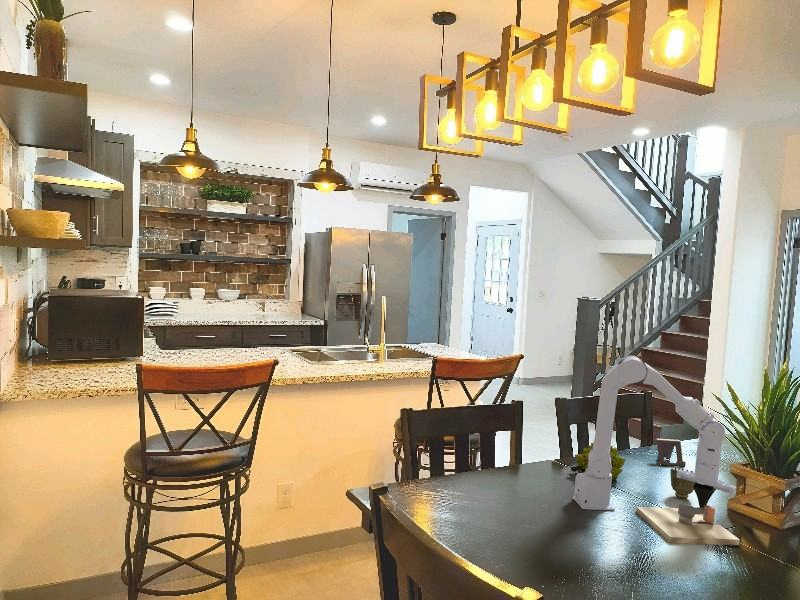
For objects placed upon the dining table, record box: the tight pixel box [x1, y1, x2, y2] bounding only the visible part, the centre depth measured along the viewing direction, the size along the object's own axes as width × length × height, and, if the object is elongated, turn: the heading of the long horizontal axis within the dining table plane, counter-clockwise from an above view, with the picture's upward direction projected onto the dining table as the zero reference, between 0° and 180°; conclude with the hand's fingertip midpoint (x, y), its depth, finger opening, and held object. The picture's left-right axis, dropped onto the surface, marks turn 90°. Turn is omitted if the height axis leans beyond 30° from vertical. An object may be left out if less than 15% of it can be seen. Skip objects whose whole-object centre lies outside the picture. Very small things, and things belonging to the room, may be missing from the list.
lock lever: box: [677, 503, 716, 523], centre depth 153 cm, size 10×4×4 cm, turn 96°
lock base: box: [636, 506, 740, 546], centre depth 153 cm, size 18×18×4 cm
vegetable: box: [570, 441, 626, 481], centre depth 188 cm, size 15×16×15 cm
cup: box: [669, 467, 695, 500], centre depth 174 cm, size 8×7×8 cm
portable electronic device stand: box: [653, 438, 686, 468], centre depth 207 cm, size 9×8×8 cm
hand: (702, 511), depth 156 cm, fingers closed
